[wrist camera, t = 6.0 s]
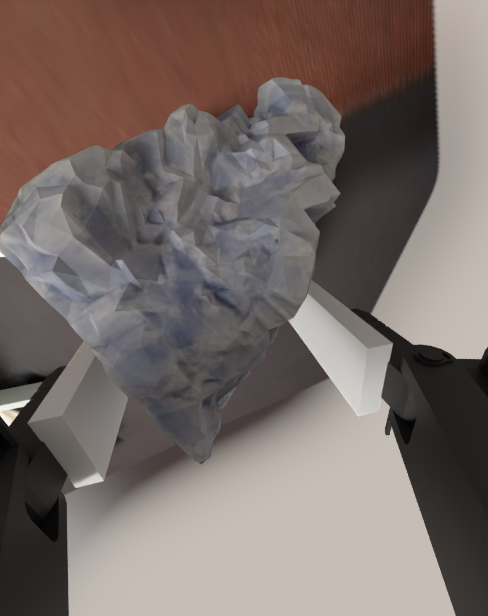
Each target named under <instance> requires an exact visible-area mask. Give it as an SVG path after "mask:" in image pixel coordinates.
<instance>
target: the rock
mask: <svg viewBox="0 0 488 616" xmlns="http://www.w3.org/2000/svg"><path fill="white" fill-rule="evenodd" d="M341 118H342V116H341V115H340V114H339V112H338V111H337V110H336V109H335V108H334V107H333V106H332V104H331V103H330V102H329V101H328V100H327V98H326V97H325V96H324V95H323V93H322V92H320V91H319V90H318V89H316V88H315V87H312V86H310V85H302V84H301V82H300V80H297V79H289V78H286V77H275V78H273V79H271V80H269V81H268V82H266V83H265V84H263V85H261V86H260V87H259V88H258V106H257V107H256V109H255V110H254V116H253V117H252V118H248V116H247V115H246V113H245V112H244V111H243V109H242V108H241V107H240V105H239V104H237V105H235V106H234V107H232V108H230V109H229V110H227V111H226V112H224V113H222V114H221V115H219V116H218V117H216V118H215V117H214V116H212V115H211V114H209V113H208V112H203V111H198V110H197V109H196V108H195V107H194V106H193V105H192V104H188V105H184V106H181V107H179V108H178V109H177V110H176V111H175V112H173V113H172V114H171V115H170V116H169V118H168V120H167V122H166V124H165V126H164V129H156V130H149V131H146V132H144V133H142V134H140V135H138V136H135V137H133V138H131V139H129V140H127V141H124V142H122V143H120V144H118V145H117V146H116V147H114V148H113V149H112V150H107V149H105V148H103V147H101V146H98V145H96V146H90V147H87V148H86V149H84V150H82V151H81V152H78V153H76V154H74V155H71V156H69V157H67V158H64V159H62V160H60V161H57V162H55V163H54V164H52V165H51V166H49V167H48V168H47V169H45V170H44V171H43V172H41V173H40V174H39V175H37V176H36V177H35V178H33V179H32V180H31V181H29V182H28V183H27V184H25V185H24V186H22V187H21V188H20V191H19V193H18V195H17V197H16V199H15V201H14V203H13V204H12V206H11V208H10V210H9V212H8V214H7V216H6V217H5V219H4V221H3V223H2V225H1V227H0V252H1V253H2V254H3V255H4V256H5V257H6V258H7V259H8V260H9V261H11V262H12V263H13V264H14V265H15V266H16V267H17V268H18V269H19V270H20V271H21V272H22V274H23V275H24V277H25V279H26V280H27V281H28V282H29V283H30V284H31V285H32V287H33V288H34V289H35V290H36V291H37V292H38V293H39V294H40V295H41V296H42V297H43V298H44V299H45V300H46V301H47V302H48V303H49V304H50V305H51V306H53V307H54V308H55V309H56V310H57V311H58V312H59V313H60V314H61V315H62V316H63V317H64V318H66V319H67V321H68V322H69V324H70V325H71V327H72V328H73V329H74V330H75V331H76V332H77V333H78V334H79V336H80V337H81V338H82V339H83V340H84V341H85V342H86V343H87V345H88V346H89V347H90V348H91V350H92V351H93V352H94V354H95V355H96V356H97V358H98V359H99V360H100V362H101V363H102V365H103V367H104V370H105V372H106V374H107V376H108V377H109V378H110V379H111V380H112V381H113V382H114V383H115V385H116V386H117V387H118V388H119V389H120V390H121V391H122V392H123V393H124V394H125V395H126V396H127V397H128V398H129V399H130V400H131V401H134V400H137V401H138V402H139V403H140V404H141V406H142V407H143V408H144V409H145V411H146V412H147V413H148V414H149V415H150V416H151V417H152V418H153V419H154V420H155V422H156V423H157V424H158V425H159V426H160V427H161V428H162V429H163V430H164V431H165V432H166V433H167V434H168V435H169V436H170V437H171V438H172V439H173V440H174V441H175V442H176V443H177V445H178V446H180V448H181V449H182V450H183V451H184V452H185V453H186V454H187V455H188V456H190V457H191V458H193V459H194V460H196V461H197V462H199V463H200V464H202V463H204V462H205V461H206V460H207V459H209V458H210V457H211V450H212V442H213V440H214V439H215V437H216V435H217V434H218V432H219V430H220V426H221V414H220V410H221V409H222V408H223V407H224V406H225V405H226V404H227V402H228V400H229V399H230V397H231V395H232V393H233V392H234V390H235V387H236V386H237V385H238V384H239V383H241V382H242V381H243V380H244V379H245V378H246V377H247V376H248V375H250V370H251V369H252V368H253V367H254V366H255V365H257V364H258V363H260V362H261V361H263V360H264V359H265V354H266V351H267V349H268V348H269V347H270V346H271V345H272V343H273V342H274V341H275V339H276V336H277V332H278V329H279V327H280V325H281V324H283V323H285V322H286V321H288V320H290V319H292V318H294V317H295V315H296V313H297V312H298V310H299V309H300V307H301V305H302V304H303V302H304V300H305V299H306V297H307V294H308V291H309V287H310V283H311V280H312V276H313V273H314V268H315V256H316V254H315V253H316V250H317V246H318V241H319V235H320V231H319V230H318V229H317V227H316V226H315V225H316V222H317V221H318V220H319V219H320V218H321V217H322V216H323V215H325V214H326V213H328V212H329V211H330V210H332V209H333V208H335V207H336V205H335V204H334V201H335V200H336V199H337V198H338V196H339V195H340V192H339V191H338V190H337V188H336V187H335V186H334V184H333V183H332V181H333V180H334V178H335V170H336V167H337V164H338V162H339V160H340V158H341V157H342V155H343V152H344V146H345V135H344V133H343V131H342V130H341V129H340V122H341Z"/></svg>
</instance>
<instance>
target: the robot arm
mask: <svg viewBox="0 0 488 616" xmlns="http://www.w3.org/2000/svg"><path fill="white" fill-rule="evenodd" d="M288 321H289V322H290V323H291V325H292V326H293V328H294V329H295V330H296V332H297V333H298V334H299V336H300V337H301V339H302V340H303V341H304V343H305V344H306V345H307V347H308V348H309V350H310V351H311V352H312V354H313V355H314V357H315V358H316V359H317V361H318V362H319V363H320V365H321V366H322V368H323V369H324V370H325V372H326V373H327V374H328V376H329V377H330V379H331V380H332V381H333V383H334V384H335V385H336V387H337V388H338V390H339V391H340V392H341V394H342V395H343V396H344V398H345V399H346V401H347V402H348V403H349V405H350V406H351V407H352V409H353V410H354V412H355V413H356V414H357V416H362V415H366V414H370V413H374V412H378V411H379V410H380V405H381V400H382V398H383V399H384V401H385V402H386V403H387V404H388V405H389V406H390V410H389V414H388V418H387V423H386V427H385V434H386V435H390V430H391V427H392V428H393V432H394V435H395V438H396V441H397V443H398V446H399V449H400V452H401V455H402V458H403V461H404V464H405V467H406V469H407V473H408V476H409V479H410V482H411V485H412V488H413V491H414V494H415V497H416V499H417V502H418V505H419V508H420V511H421V514H422V517H423V520H424V523H425V526H426V529H427V532H428V535H429V537H430V541H431V544H432V547H433V549H434V553H435V555H436V558H437V561H438V564H439V567H440V570H441V573H442V576H443V579H444V582H445V585H446V588H447V591H448V594H449V596H450V600H451V602H452V605H453V608H454V611H455V614H456V616H488V348H487V349H486V350H485V352H484V355H483V357H482V359H456V358H455V357H453V356H452V355H451V354H450V353H448V352H446V351H444V350H442V349H439V348H436V347H432V346H427V345H413V344H411V343H410V342H409V341H407V340H406V339H404V338H403V337H402V336H400V335H399V334H397V333H396V332H394V331H393V330H392V329H390V328H389V327H386V326H385V324H383V323H382V322H381V321H378V319H376V318H375V317H374V316H372V315H371V314H369V313H367V312H365V311H362V310H359V309H357V308H356V309H351V310H350V309H348V308H347V307H346V306H344V305H343V304H342V303H341V302H339V301H338V300H337V299H335V298H334V297H333V296H332V295H330V294H329V293H328V292H326V291H325V290H324V289H323V288H321V287H320V286H319V285H317V284H316V283H315V282H314V281H312V280H311V283H310V287H309V291H308V294H307V297H306V299H305V300H304V302H303V304H302V305H301V307H300V309H299V310H298V312H297V313H296V315H295V317H294V318H292V319H290V320H288ZM127 400H128V397H127V396H126V395H125V394H124V393H123V392H122V391H121V390H120V389H119V388H118V387H117V386H116V385H115V383H114V382H113V381H112V380H111V379H110V378H109V377H108V376H107V374H106V372H105V370H104V367H103V365H102V363H101V362H100V360H99V359H98V358H97V356H96V355H95V354H94V352H93V351H92V350H91V348H90V347H89V346H88V345H87V343H86V342H85V341H84V342H83V343H82V344H81V346H80V347H79V349H78V350H77V352H76V353H75V355H74V356H73V358H72V359H71V360H70V362H69V363H68V365H67V366H63V367H59V368H58V369H56V370H55V371H54V372H53V373H51V374H50V375H49V376H48V377H47V378H45V380H44V381H43V382H42V384H41V385H40V386H39V388H38V389H37V392H35V393H34V394H33V396H32V397H31V398H30V402H27V404H26V405H25V406H24V408H23V409H22V410H21V412H20V413H19V414H18V416H17V417H16V418H15V420H14V421H13V422H12V424H11V425H10V426H9V427H8V425H7V424H6V423H5V422H4V420H3V419H2V418H1V417H0V616H69V609H68V559H67V503H66V500H65V496H64V495H63V494H62V492H61V489H62V487H63V485H64V482H65V480H66V478H67V477H68V478H69V479H70V481H71V482H72V484H73V485H74V486H75V488H78V487H81V486H85V485H89V484H93V483H97V482H101V481H104V478H105V475H106V471H107V468H108V465H109V461H110V458H111V454H112V451H113V448H114V444H115V441H116V437H117V434H118V431H119V427H120V424H121V420H122V417H123V414H124V410H125V407H126V403H127Z"/></svg>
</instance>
